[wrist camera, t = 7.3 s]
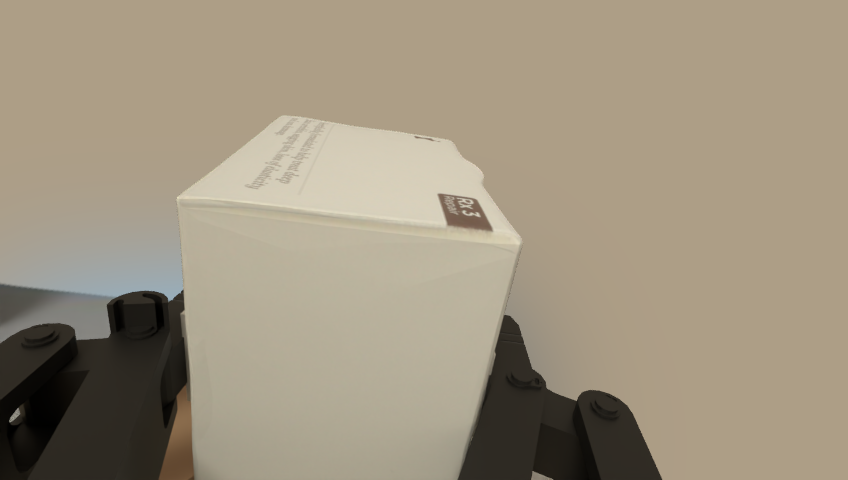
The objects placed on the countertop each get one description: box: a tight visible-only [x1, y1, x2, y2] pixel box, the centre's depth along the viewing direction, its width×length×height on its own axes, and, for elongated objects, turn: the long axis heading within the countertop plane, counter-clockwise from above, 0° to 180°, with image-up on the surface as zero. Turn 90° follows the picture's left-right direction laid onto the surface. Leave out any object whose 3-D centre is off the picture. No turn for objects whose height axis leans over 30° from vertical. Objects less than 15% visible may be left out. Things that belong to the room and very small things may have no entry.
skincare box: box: [177, 116, 523, 480], centre depth 13 cm, size 8×6×15 cm
